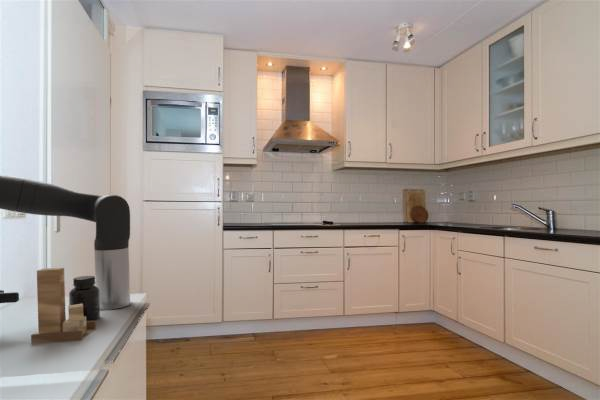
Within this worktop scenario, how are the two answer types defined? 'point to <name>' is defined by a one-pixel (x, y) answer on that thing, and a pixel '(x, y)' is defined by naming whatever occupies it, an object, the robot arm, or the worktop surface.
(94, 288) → the supplement bottle
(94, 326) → the walnut rack
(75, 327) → the pine offcut
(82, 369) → the worktop surface
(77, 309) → the small pine offcut
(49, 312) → the oak board
